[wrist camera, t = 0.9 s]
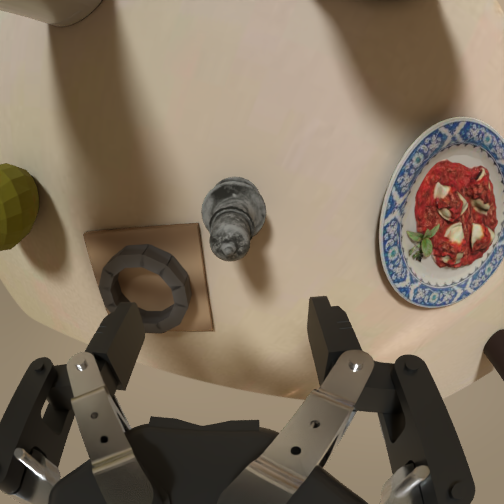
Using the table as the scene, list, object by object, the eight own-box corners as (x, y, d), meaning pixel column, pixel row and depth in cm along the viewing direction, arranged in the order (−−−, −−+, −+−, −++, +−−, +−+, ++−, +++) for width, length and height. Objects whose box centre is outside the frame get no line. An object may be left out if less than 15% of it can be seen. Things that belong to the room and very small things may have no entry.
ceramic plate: (510, 116, 24) (524, 119, 21) (500, 274, 35) (510, 283, 32) (358, 122, 26) (369, 123, 23) (373, 319, 37) (381, 333, 34)
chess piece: (245, 238, 31) (244, 305, 20) (196, 211, 30) (168, 267, 19) (275, 192, 29) (292, 239, 18) (224, 163, 28) (209, 192, 17)
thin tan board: (86, 231, 30) (73, 243, 27) (198, 222, 30) (193, 234, 27) (115, 325, 37) (107, 340, 34) (212, 326, 36) (210, 344, 33)
